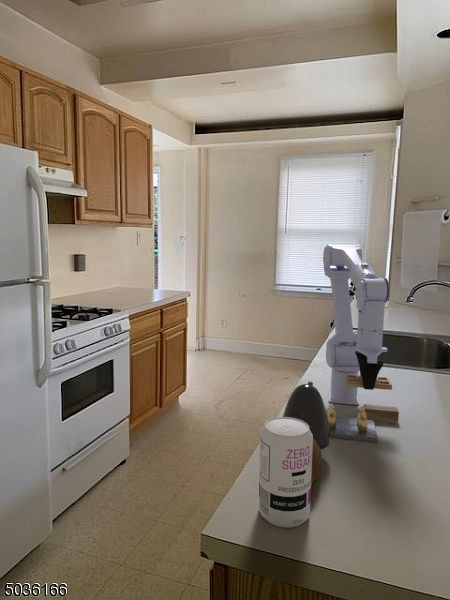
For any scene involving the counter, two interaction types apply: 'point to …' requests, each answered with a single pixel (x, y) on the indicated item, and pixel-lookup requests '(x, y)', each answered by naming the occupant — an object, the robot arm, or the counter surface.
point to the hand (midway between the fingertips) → (367, 384)
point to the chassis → (351, 426)
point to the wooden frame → (357, 382)
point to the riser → (381, 413)
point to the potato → (316, 461)
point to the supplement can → (285, 471)
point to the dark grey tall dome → (310, 412)
